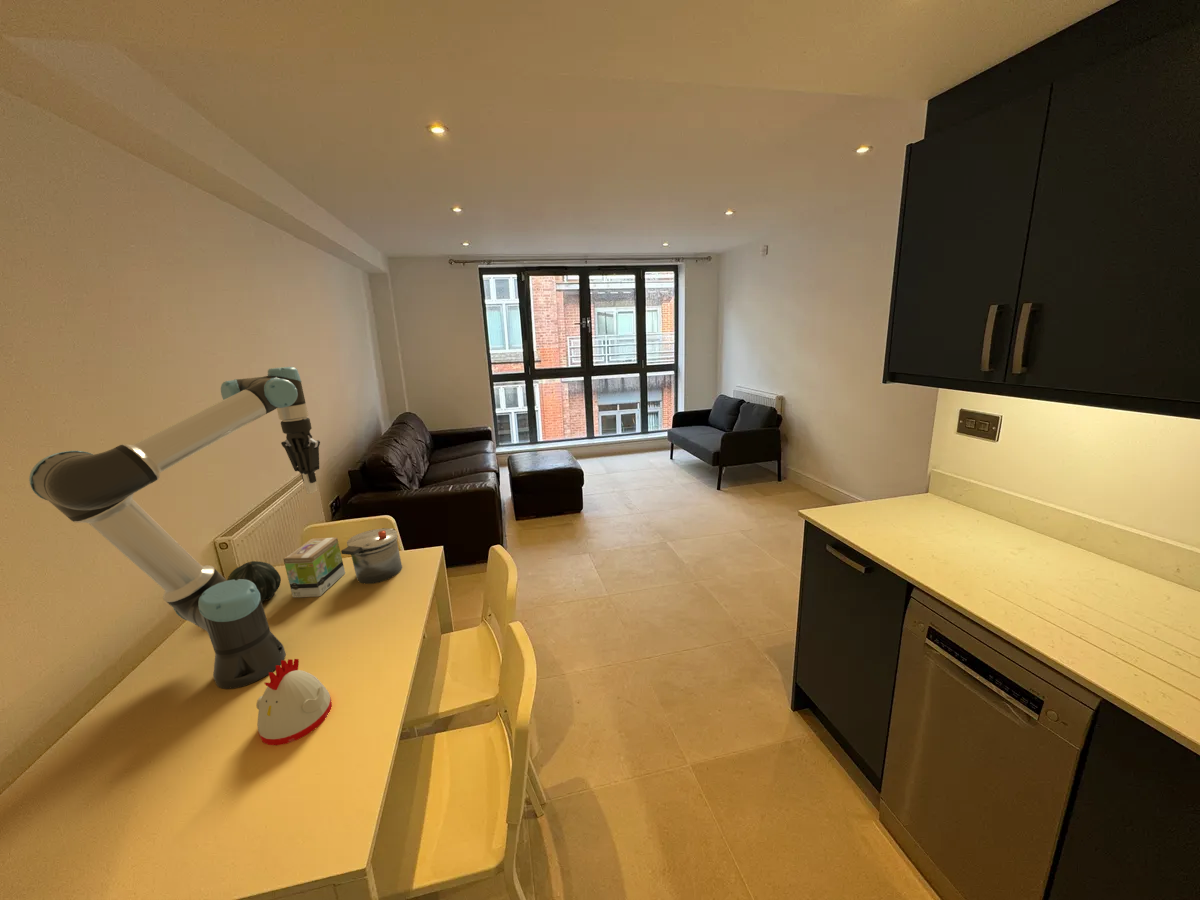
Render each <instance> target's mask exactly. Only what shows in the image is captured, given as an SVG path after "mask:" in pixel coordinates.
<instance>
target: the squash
mask: <svg viewBox="0 0 1200 900" xmlns="http://www.w3.org/2000/svg"><path fill="white" fill-rule="evenodd" d="M238 579H245V580H249V581H251V582H253V583H254V584H255V585H256V587H257V589H258V591H259V593H260V598H261V602H262V603H264V602H265V601H267V600H268V601H269V600H270V599H272V597H273V596H274V595H275V593H276V592H278V590H279V587H280V586H281V584H282V583H281V582H282V578H281V575H280V573H279V572H278V570H277V569H276V568H275V567H274V566H273V564H270V563H267V562H264V561H256V560H252V561H248V562H245V563H244V564H241V565H240V566H238V567H236V568H234V570H232V571H231V572H230V574H229V575H228V577H227V579H226V580H227V581H228V580H235V581H236V580H238Z"/></svg>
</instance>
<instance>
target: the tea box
mask: <svg viewBox="0 0 1200 900" xmlns="http://www.w3.org/2000/svg"><path fill="white" fill-rule="evenodd" d="M283 563H284V567H285V572H286V575H287V580H288V584H289V587H290V592H291V595H292V598H311V597H312V598H314V597H322V595H323V594H324V593H325V592H326V591H327V590H328V589H330V588H331V587H332V586H333V585H334V584H336V582H337V581H338V580H339V579H341V578H342V577H343V576H344V575H345V574H346V571H345V567H344V561H343V557H342V553H341V549H340V544H339V539H338V537H322V538H321V537H320V538H319V537H318V538H311V539H309V540H308V541H306V542H305V543H303V544H302V545H300V546H299V547H298V548H296V549H295V550H293V551H292V552H291V553H289V554H288V555H286V556H285V557H283Z"/></svg>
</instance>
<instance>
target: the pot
mask: <svg viewBox="0 0 1200 900" xmlns="http://www.w3.org/2000/svg"><path fill="white" fill-rule="evenodd" d="M395 531H396V532H397V533H398V531H397V530H395ZM398 537H399V536H398V535H397V538H396V539H395V540H394V541H393V542H391V543H389V544H387V545H384V546H381V547H378V548H374V549H369V550H362V551H360V552H358V553H357V554H355V555H351V560H352V561H351V562H352V565H353V569H354V572H355V577H356V580H357V582H358V581H359V582H358V583H359V584H364V583H365V584H367V585H370V584H377V583H381V582H384V581H387V580H390V579H392V578H394V577H396V575H398V574H399V573H400V572H401V571H402V570H403V565H402V559H401V555H400V549H399V543H398ZM365 584H364V585H365Z"/></svg>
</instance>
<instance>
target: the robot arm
mask: <svg viewBox="0 0 1200 900" xmlns="http://www.w3.org/2000/svg"><path fill="white" fill-rule="evenodd" d="M302 384H303V383H302V379H301V376H300V373H299V371H298V369H297V368H296V367H294V366H283V367H273V368H269V369H267V375H265V376H260V377H259V376H258V377H247V378H240V379H239V378H237V379H236V378H235V379H231V380H224V381H223V382H222V383H221V386H220V395H221V398H222V400H221V401H218V402H217V403H215V404H213V405H210V406H208V407H206V408H204V409H202V410H200V411H198V412H196V413H194V414H192V415H190V416H188V417H186V418H184V419H182V420H180V421H178V422H176V423H174V424H172V425H170V426H168V427H165V428H164V429H162V430H159V431H158V432H155V433H154V434H151V435H149V436H147V437H145V438H144V439H141V440H140V441H137V442H135V443H134V444H127V443H121V444H119V445H117V446H115V447H113V448H111V449H108V450H105V451H103V452H98V453H95V454H93V453H91V452H89V451H88V452H87V451H80V450H68V451H67V450H66V451H60V452H56V453H53V454H49V455H48V456H46V457H44V458H42V459H40V460H39V461H38V462H37V463H35V465H34V466H33V468H32V469H31V471H30V474H29V478H28V479H29V480H28V481H29V485H30V487H31V490H32V492H33V493H34V494H35V495H36V496H38V497H39V498H41V499H42V500H45V501H48V503H50V504H51V505H52V506H54V507H55V508H56V509H57V510H59V512H60V513H62V514H63V515H64V516H65V517H67V518H68V520H70V521H71V522H72V523H75V524H76V523H81V524H83V523H86V524H88V525H90V526H91V527H92V528H93V529H94V530H95V531H96V532H98V533H99V534H100V535H101V536H102V537H103V538H105V540H107V541H108V542H109V543H110V544H111V545H112V546H114V547H115V548H116V549H117V550H118V551H119V552H121V554H122V555H124V556H125V557H127V559H129V561H130V562H132V563H133V564H134V565H135V566H136V567H138V568H139V569H140V570H141V571H142V572H143V573H145V574H146V575H147V577H149V578H151V579H152V580H153V581H154V582H155V583H156V584H157V585H158V586H159V587H161V588H162V589H163V590H164V592H163V596H162V597H163V599H162V600H163V601H165V602H166V603H167V604H168V605H170V606H171V608H172V609H173V610H174V612H175V613H176V615H177V616H178V617H180V618H181V619H183V620H185V621H187V622H190V623H191V624H194V625H195V626H197V627H199V628H201V630H202V629H203V630H204V631H206V632H207V634H208V637H209V640H210V643H211V645H212V648H213V651H214V654H215V655H214V663H213V664H214V665H213V674H212V676H213V680H214V682H215V685H216V686H217V687H218V688H220V689H225V690H230V689H237V688H242V687H245V686H248V685H251V684H253V683H256V682H258V681H259V680H262V679H263V678H265V677H266V676H269V672H272V673H274V671H276V665H280V666H281V660H285V659H286V653H287V652H286V650H285V647H284V645H283V643H282V642H281V641H280V640H279V639H278V638H277V637H276V636H275V635H274V634H273V632H272V631H271V629H270V626H269V623H268V619H267V616H266V613H265V608H264V605H263V602H261V598H260V593H259V591H258V589H257V587H256V585H255V584H254V583H253V582H251V581H249V580H245V579H238V580H236V581H235V580H228V581H227V579H226V578H225V577H224V576H223V575H222V574H221V573H220V572H219V570H217V569H216V568H215V567H214V566H213V565H210V564H209V565H207V564H206V565H202V564H201V563H200V562H199V561H198V560H196V559H195V558H194V557H193V556H192V555H191V554H190V553H189V552H188V551H187V550H186V549H185V548H184V547H183V546H182V545H180V543H179V542H178V541H177V540H176V539H175V538H174V537H173V536H171V534H170V533H168V531H166V530H165V528H163V526H161V525H160V523H158V522H157V520H155V519H154V518H153V517H152V516H151V515H150V514H149V513H148V512H147V511H146V510H145V509H144V508H143V507H142V506H141V505H139V503H138V502H137V501H136V500H135V499H134V494H135V493H137V492H138V491H141V490H142V489H144V488H146V487H148V486H149V485H151V484H153V483H155V482H157V481H158V480H159V479H160V476H161V473H162V472H164V471H166V470H168V469H170V468H172V467H173V466H175V465H177V464H179V463H181V462H182V461H184V460H186V459H187V458H190V457H191V456H193V455H195V454H196V453H198V452H200V451H202V450H204V449H205V448H207V447H210V446H211V445H213V444H215V443H216V442H218V441H220V440H223V439H224V438H225V437H228V436H229V435H231V434H233V433H234V432H236V431H238V430H240V429H242V428H243V427H245V426H247V425H249V424H250V423H252V422H255V421H256V420H258V419H260V418H262V417H264V416H265V415H267V414H268V413H271V412H273V411H274V410H277V416H278V419H279V420H280V427H281V430H282V433H283V434H285V435H286V436H285V437H286V439H285V440H284V441H280V444H281V446H282V447H283V448H284V449H285V452H286V454H287V456H288V459H289V461H290V463H291V466H292V469H294V472H299V474H300V475H301V478H302V482H303V483H304V487H305V491H306V494H309V495H311V494H314V493H316V492H318V491H319V490H318V484H317V477H316V473H315V472H316V471H319V470H320V445H321V441H320V440H319V439H318V440H315V439H314V438H313V435H312V434H311V430H312V429H313V428H312V423H311V419H310V417H308V416H309V410H308V407H307V403H306V399H305V398H306V397H305V394H304V389H303V385H302Z"/></svg>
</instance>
